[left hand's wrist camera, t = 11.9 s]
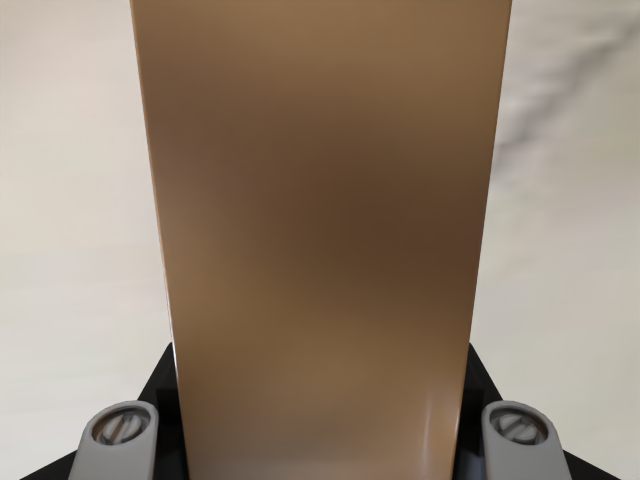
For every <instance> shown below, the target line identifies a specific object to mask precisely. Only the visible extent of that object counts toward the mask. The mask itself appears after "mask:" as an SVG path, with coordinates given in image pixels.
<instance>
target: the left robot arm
mask: <svg viewBox="0 0 640 480" xmlns="http://www.w3.org/2000/svg"><path fill="white" fill-rule="evenodd" d="M20 480H189V474H188V465H187V457H186V449H185V441H184V433H183V425H182V417H181V409H180V401H179V393H178V385H177V377H176V369H175V361H174V353H173V345H172V342H171V343H170V344H169V345H168V346H167V348H166V350H165V352H164V353H163V355H162V357H161V359H160V360H159V362H158V364H157V366H156V368H155V369H154V371H153V373H152V375H151V376H150V378H149V380H148V382H147V383H146V385H145V387H144V389H143V391H142V392H141V394H140V396H139V398H138V399H137V400H136V401H125V402H121V403H117V404H114V405H112V406H110V407H108V408H105V409H104V410H102V411H101V412H99V413H98V414H96V415H95V416H94V417H93V418H92V419H91V420H90V421H89V422H88V423H87V425H86V427H85V429H84V431H83V434H82V437H81V440H80V443H79V446H78V449H77V450H76V451H74V452H72V453H70V454H68V455H66V456H64V457H62V458H60V459H58V460H56V461H54V462H53V463H51V464H49V465H47V466H45V467H43V468H41V469H39V470H37V471H35V472H33V473H31V474H29V475H28V476H26V477H24V478H22V479H20ZM452 480H620V479H618V478H617V477H615V476H613V475H611V474H609V473H607V472H605V471H603V470H601V469H599V468H597V467H595V466H593V465H592V464H590V463H588V462H586V461H584V460H582V459H580V458H578V457H576V456H574V455H572V454H570V453H569V452H567V451H565V450H563V449H562V446H561V443H560V440H559V437H558V434H557V431H556V429H555V427H554V425H553V423H552V422H551V421H550V420H549V419H548V418H547V417H546V416H545V415H544V414H542V413H541V412H539V411H538V410H536V409H535V408H532V407H530V406H528V405H526V404H523V403H519V402H515V401H504V400H503V399H502V397H501V395H500V394H499V392H498V390H497V388H496V387H495V385H494V383H493V381H492V379H491V378H490V376H489V374H488V372H487V371H486V369H485V367H484V365H483V364H482V362H481V360H480V358H479V357H478V355H477V353H476V351H475V349H474V348H473V346H472V345H471V343H469V348H468V356H467V363H466V371H465V379H464V387H463V395H462V403H461V411H460V419H459V427H458V435H457V443H456V451H455V459H454V467H453V475H452Z"/></svg>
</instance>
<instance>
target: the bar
mask: <svg viewBox="0 0 640 480" xmlns="http://www.w3.org/2000/svg"><path fill="white" fill-rule="evenodd" d="M511 6H512V0H130V7H131V15H132V23H133V31H134V39H135V47H136V55H137V63H138V71H139V79H140V87H141V95H142V103H143V111H144V119H145V127H146V136H147V144H148V152H149V160H150V168H151V176H152V184H153V192H154V200H155V208H156V216H157V224H158V232H159V240H160V248H161V256H162V264H163V272H164V280H165V288H166V296H167V305H168V313H169V321H170V329H171V337H172V345H173V353H174V361H175V369H176V377H177V385H178V393H179V401H180V409H181V417H182V425H183V433H184V441H185V449H186V457H187V465H188V474H189V480H452V475H453V467H454V459H455V451H456V443H457V435H458V427H459V419H460V411H461V403H462V395H463V387H464V379H465V371H466V363H467V356H468V348H469V340H470V332H471V324H472V316H473V308H474V300H475V292H476V284H477V276H478V268H479V260H480V252H481V244H482V236H483V228H484V220H485V213H486V205H487V197H488V189H489V181H490V173H491V165H492V157H493V149H494V141H495V133H496V125H497V117H498V109H499V101H500V93H501V85H502V78H503V70H504V62H505V54H506V46H507V38H508V30H509V22H510V14H511Z"/></svg>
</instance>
